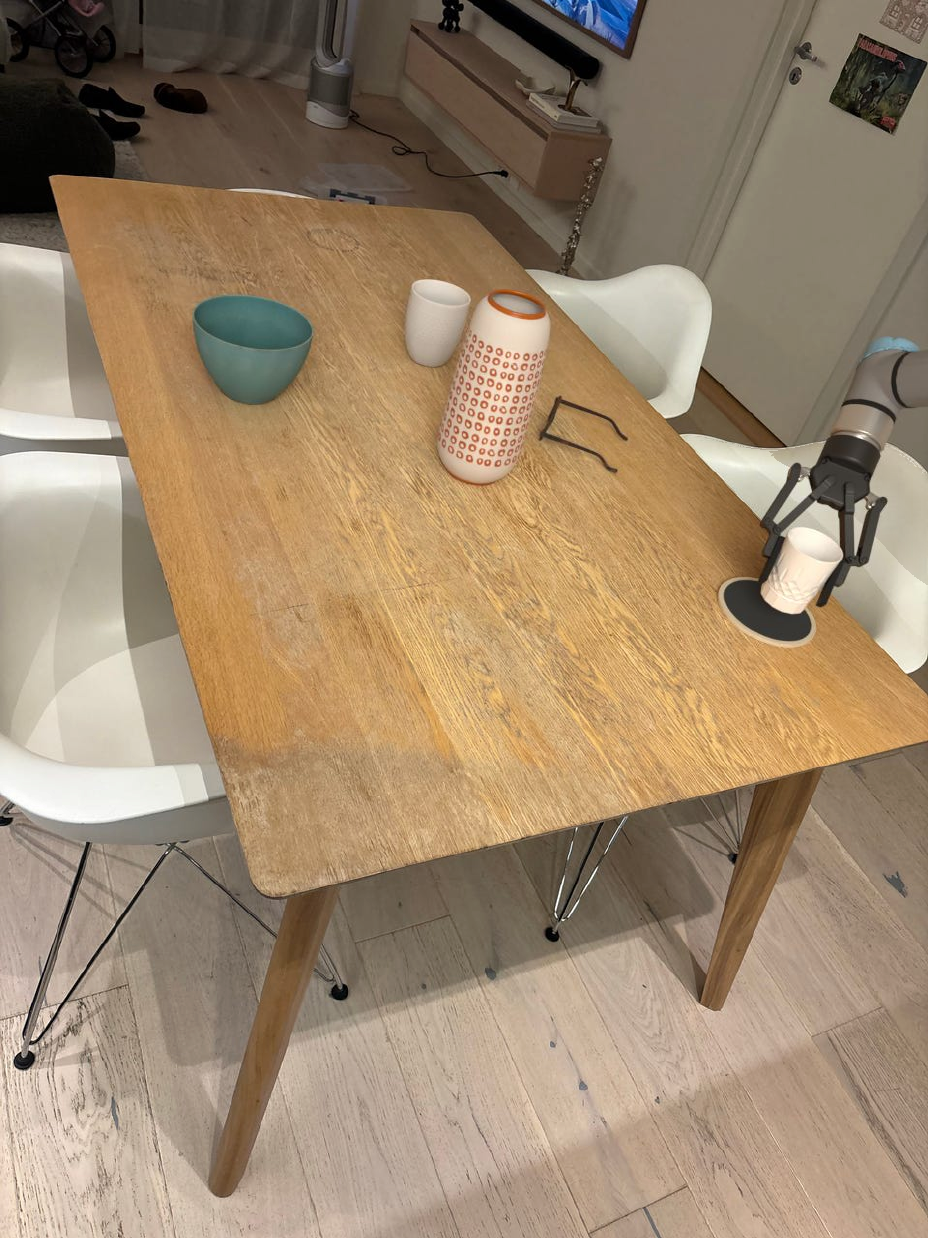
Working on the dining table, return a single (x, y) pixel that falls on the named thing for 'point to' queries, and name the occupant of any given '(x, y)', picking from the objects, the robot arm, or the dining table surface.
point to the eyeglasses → (557, 439)
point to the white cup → (800, 569)
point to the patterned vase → (494, 387)
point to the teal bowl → (251, 345)
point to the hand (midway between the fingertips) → (791, 592)
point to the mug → (435, 321)
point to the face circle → (763, 615)
